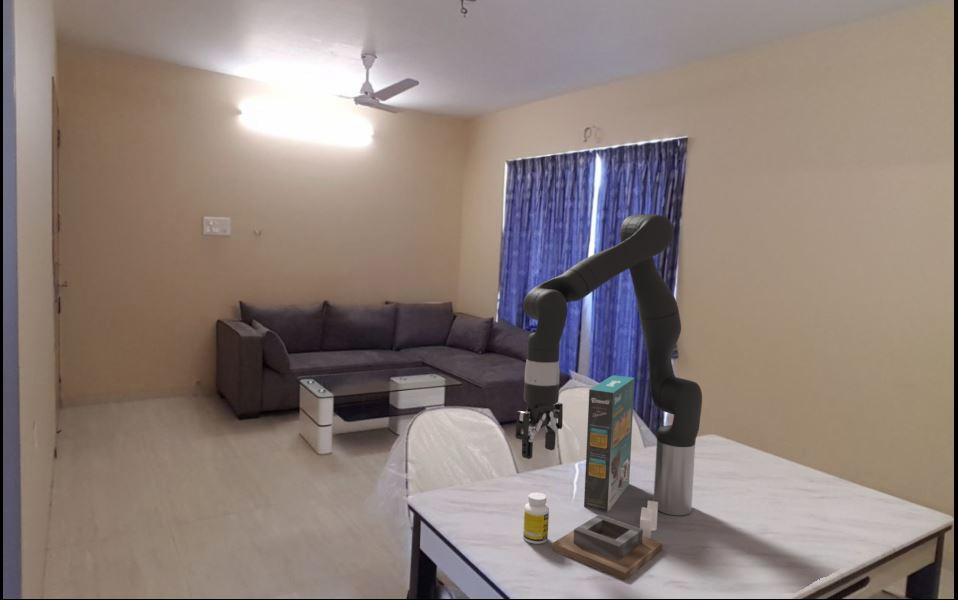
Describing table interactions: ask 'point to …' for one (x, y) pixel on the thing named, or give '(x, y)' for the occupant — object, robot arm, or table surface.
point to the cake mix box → (608, 441)
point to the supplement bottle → (536, 519)
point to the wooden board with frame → (609, 546)
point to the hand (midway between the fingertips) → (538, 453)
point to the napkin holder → (649, 518)
